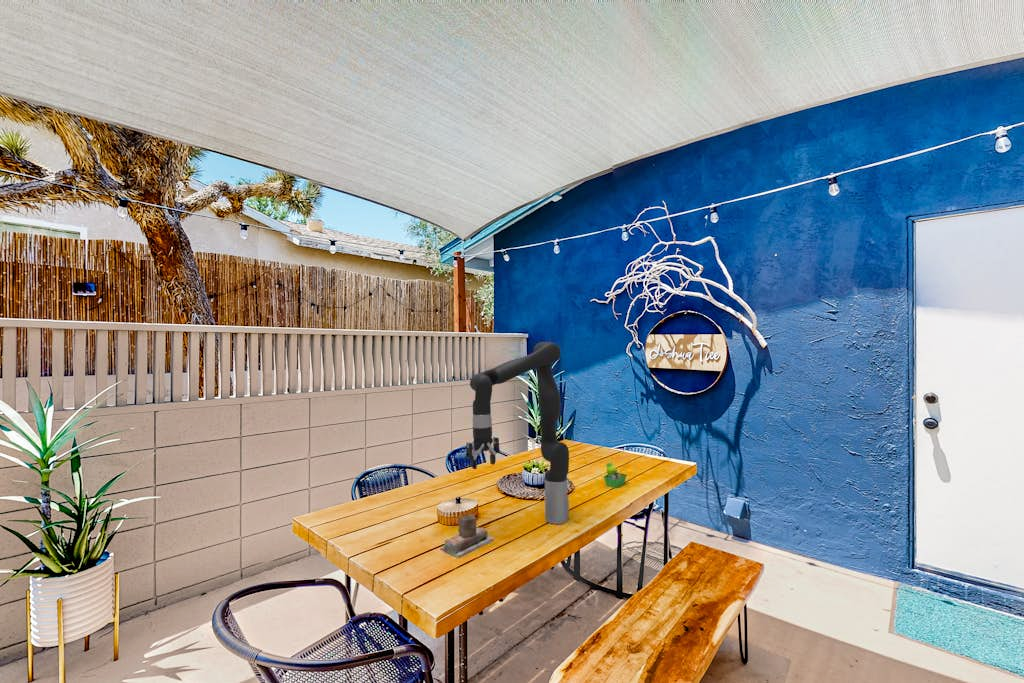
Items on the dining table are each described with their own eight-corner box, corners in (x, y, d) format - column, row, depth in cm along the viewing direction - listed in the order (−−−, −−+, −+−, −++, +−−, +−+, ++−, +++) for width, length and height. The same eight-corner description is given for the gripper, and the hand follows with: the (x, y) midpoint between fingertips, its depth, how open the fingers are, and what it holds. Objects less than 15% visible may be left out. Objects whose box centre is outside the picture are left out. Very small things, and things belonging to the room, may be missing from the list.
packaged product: (457, 546, 149) (439, 537, 156) (458, 560, 149) (440, 551, 156) (494, 529, 163) (476, 522, 169) (494, 542, 163) (476, 534, 169)
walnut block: (470, 529, 162) (471, 513, 163) (476, 534, 158) (476, 518, 158) (458, 532, 160) (458, 516, 160) (463, 537, 156) (463, 520, 156)
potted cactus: (615, 489, 219) (615, 467, 219) (600, 485, 225) (600, 463, 225) (627, 484, 226) (627, 463, 227) (613, 480, 233) (613, 459, 233)
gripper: (491, 421, 176) (492, 460, 176) (461, 426, 167) (463, 468, 167) (502, 423, 170) (503, 464, 170) (472, 429, 161) (473, 472, 161)
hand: (483, 466), depth 169 cm, fingers open, 8 cm apart
